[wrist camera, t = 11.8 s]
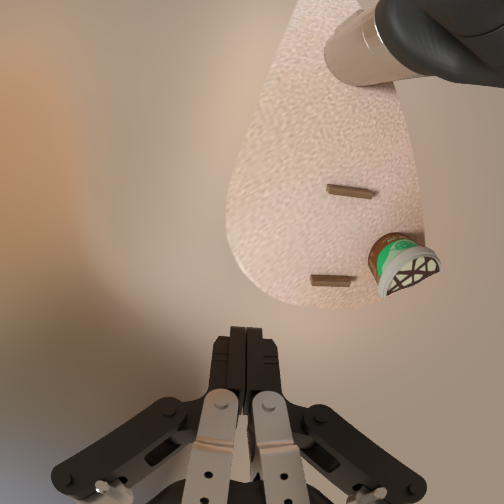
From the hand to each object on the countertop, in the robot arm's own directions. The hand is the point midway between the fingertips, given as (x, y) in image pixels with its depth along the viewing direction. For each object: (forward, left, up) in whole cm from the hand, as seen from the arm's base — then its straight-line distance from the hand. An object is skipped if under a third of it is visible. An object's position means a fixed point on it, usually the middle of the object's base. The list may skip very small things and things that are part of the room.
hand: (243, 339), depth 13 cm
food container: (+8, +26, -31) cm, 41 cm away
